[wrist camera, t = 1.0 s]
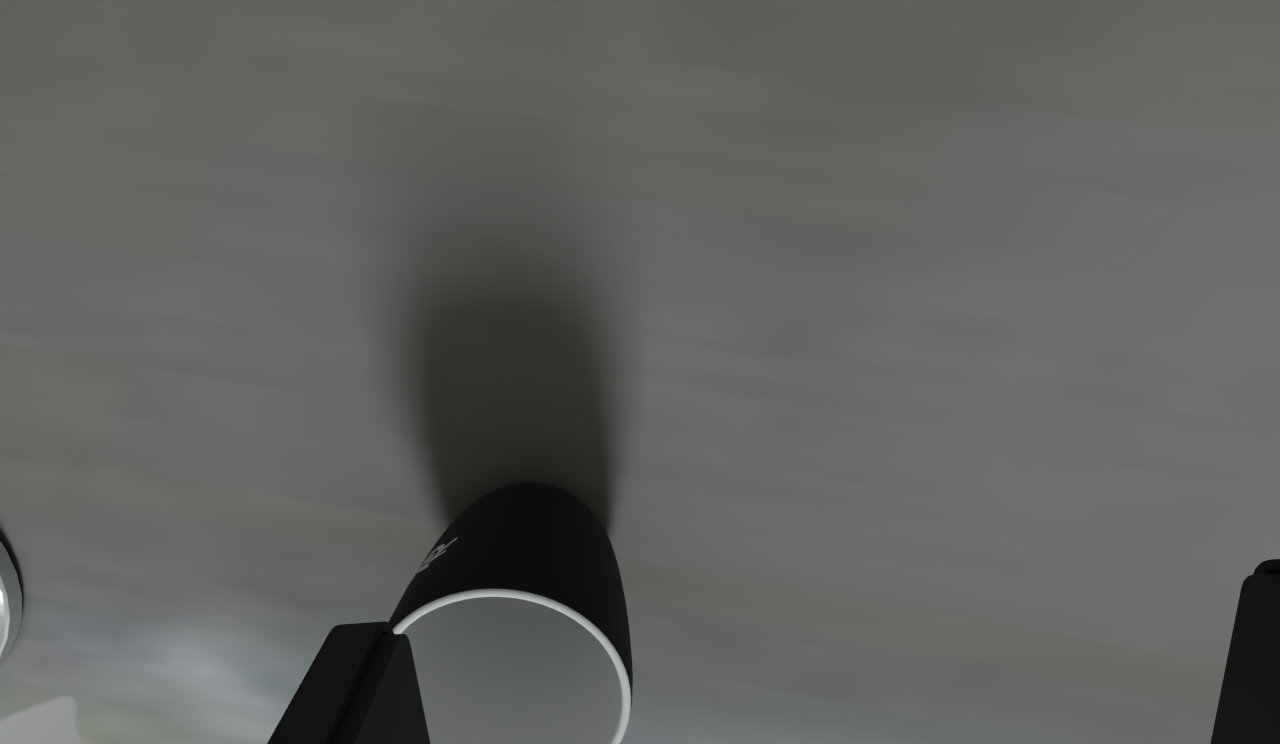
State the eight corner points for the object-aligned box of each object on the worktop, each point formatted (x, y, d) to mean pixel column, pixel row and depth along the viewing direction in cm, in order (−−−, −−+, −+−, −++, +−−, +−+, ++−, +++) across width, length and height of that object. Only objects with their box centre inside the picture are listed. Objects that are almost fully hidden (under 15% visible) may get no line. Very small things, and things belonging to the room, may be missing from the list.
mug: (467, 427, 35) (407, 553, 25) (660, 493, 36) (673, 637, 26) (392, 644, 38) (313, 828, 29) (569, 698, 39) (551, 891, 30)
